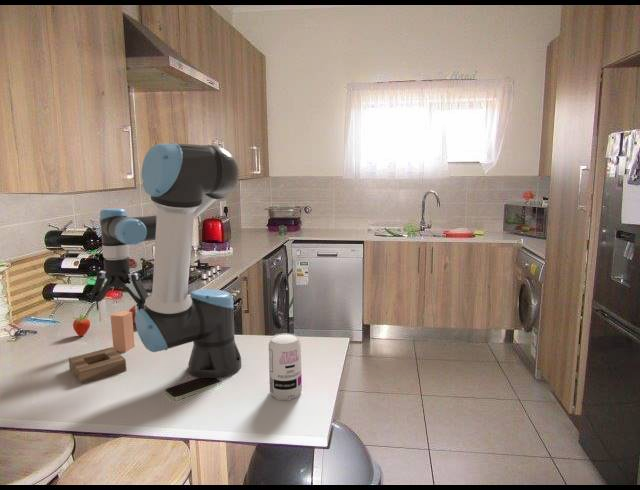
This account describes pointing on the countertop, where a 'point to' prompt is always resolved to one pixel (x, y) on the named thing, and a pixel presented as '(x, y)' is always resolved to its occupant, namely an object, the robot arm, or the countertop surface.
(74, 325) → the fruit
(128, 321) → the peg
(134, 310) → the dragon fruit
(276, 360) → the supplement can
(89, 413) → the countertop surface
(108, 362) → the socket
